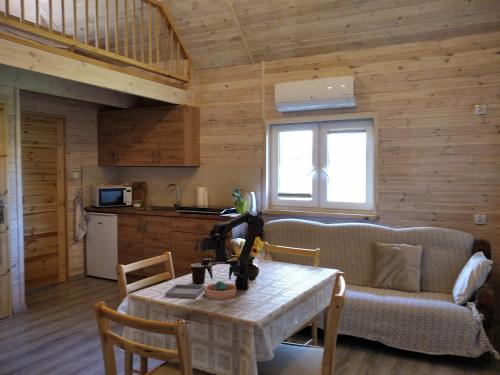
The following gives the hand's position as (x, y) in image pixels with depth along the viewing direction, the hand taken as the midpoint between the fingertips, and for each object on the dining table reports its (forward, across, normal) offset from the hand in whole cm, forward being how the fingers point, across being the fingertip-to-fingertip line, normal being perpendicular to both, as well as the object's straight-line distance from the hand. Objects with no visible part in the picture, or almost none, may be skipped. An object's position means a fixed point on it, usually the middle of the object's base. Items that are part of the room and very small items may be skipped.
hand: (220, 279), depth 217 cm
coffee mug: (+8, +17, -20) cm, 27 cm away
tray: (+7, +18, +1) cm, 20 cm away
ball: (+4, 0, 0) cm, 4 cm away
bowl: (+8, 0, 0) cm, 8 cm away
